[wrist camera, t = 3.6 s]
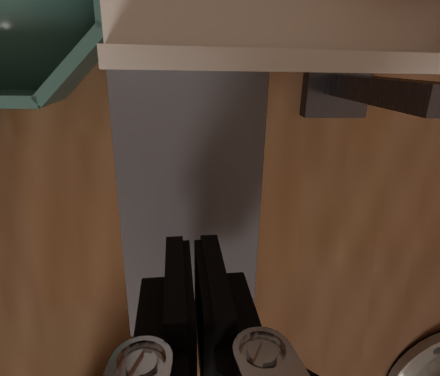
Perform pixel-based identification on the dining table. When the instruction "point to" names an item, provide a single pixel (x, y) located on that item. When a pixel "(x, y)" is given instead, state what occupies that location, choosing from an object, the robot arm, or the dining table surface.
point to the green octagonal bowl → (46, 49)
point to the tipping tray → (226, 106)
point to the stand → (366, 95)
